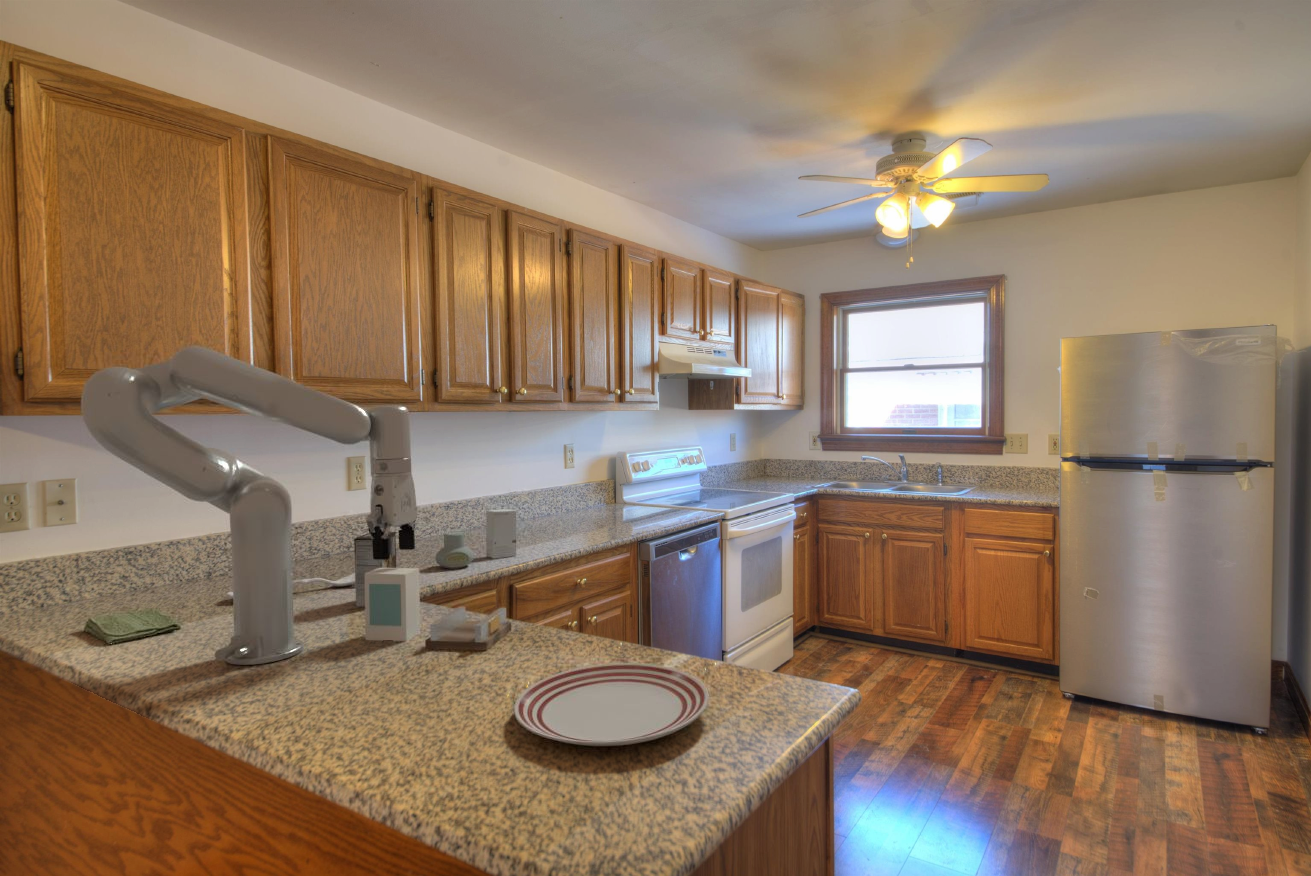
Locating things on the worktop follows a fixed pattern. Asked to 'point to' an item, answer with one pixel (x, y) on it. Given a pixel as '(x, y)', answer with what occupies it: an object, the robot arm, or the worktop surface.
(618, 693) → the dinner plate
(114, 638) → the washcloth
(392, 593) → the carton
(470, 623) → the napkin stand
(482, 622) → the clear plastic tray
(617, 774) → the worktop surface
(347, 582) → the spoon
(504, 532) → the skincare box
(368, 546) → the coffee box
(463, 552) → the air freshener
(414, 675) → the worktop surface
